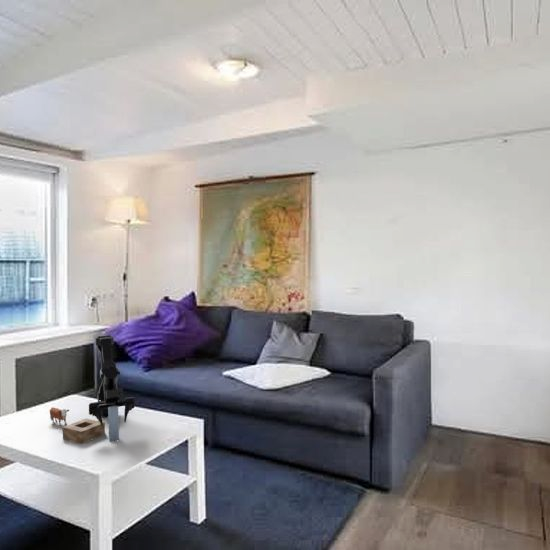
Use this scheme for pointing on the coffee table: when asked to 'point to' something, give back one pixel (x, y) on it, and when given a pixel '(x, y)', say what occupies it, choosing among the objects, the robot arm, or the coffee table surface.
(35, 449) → the coffee table surface
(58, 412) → the bull figurine
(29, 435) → the coffee table surface
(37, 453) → the coffee table surface
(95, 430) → the socket
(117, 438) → the dowel
